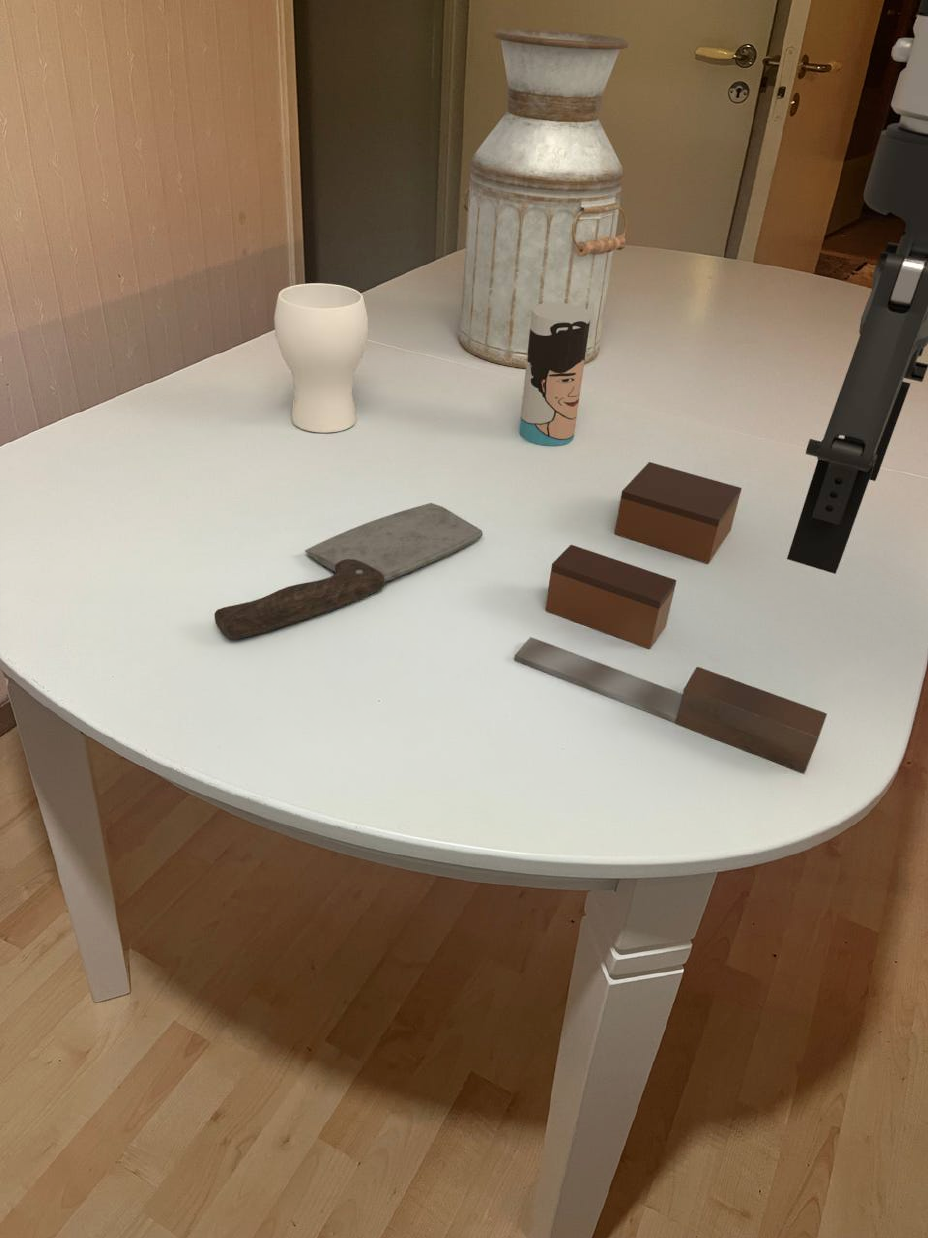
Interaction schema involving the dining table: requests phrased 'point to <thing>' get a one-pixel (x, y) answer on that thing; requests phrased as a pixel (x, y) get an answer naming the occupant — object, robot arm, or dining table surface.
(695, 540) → the cake
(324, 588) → the cleaver
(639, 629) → the cake slice
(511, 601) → the dining table surface
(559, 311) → the cup
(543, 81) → the milk can
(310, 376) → the cup
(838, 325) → the dining table surface
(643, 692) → the knife
